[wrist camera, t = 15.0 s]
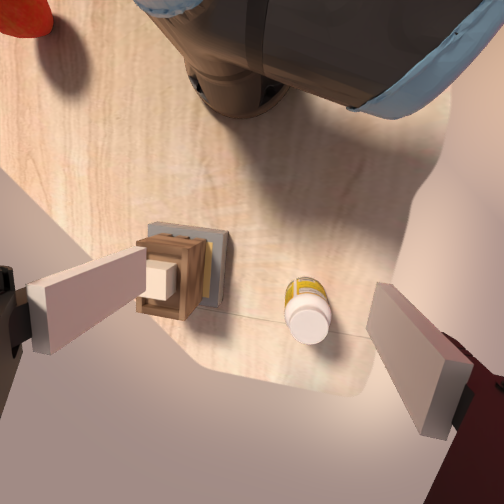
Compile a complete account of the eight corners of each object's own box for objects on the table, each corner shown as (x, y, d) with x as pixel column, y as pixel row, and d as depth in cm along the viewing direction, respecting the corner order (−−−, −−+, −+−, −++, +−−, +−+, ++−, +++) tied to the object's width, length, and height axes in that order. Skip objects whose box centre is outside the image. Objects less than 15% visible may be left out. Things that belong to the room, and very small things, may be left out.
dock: (157, 221, 44) (147, 224, 41) (228, 231, 42) (223, 234, 39) (156, 289, 47) (147, 296, 44) (222, 300, 45) (217, 308, 42)
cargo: (148, 259, 35) (135, 265, 32) (176, 263, 35) (166, 270, 32) (148, 287, 36) (135, 295, 33) (176, 291, 36) (165, 300, 33)
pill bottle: (298, 317, 44) (299, 358, 33) (278, 286, 43) (273, 318, 32) (332, 300, 42) (345, 337, 31) (312, 268, 41) (318, 295, 31)
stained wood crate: (162, 232, 41) (136, 241, 34) (206, 238, 40) (188, 249, 33) (161, 292, 43) (136, 312, 36) (202, 300, 42) (184, 321, 35)
